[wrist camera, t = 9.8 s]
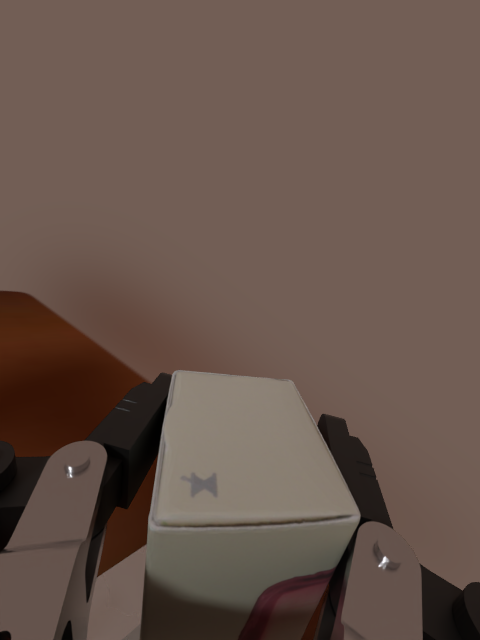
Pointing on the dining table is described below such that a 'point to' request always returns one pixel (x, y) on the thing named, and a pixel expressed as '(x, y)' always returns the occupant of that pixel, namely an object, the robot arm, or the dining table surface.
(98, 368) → the dining table surface
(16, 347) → the dining table surface
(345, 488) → the small box
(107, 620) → the chassis
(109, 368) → the dining table surface
